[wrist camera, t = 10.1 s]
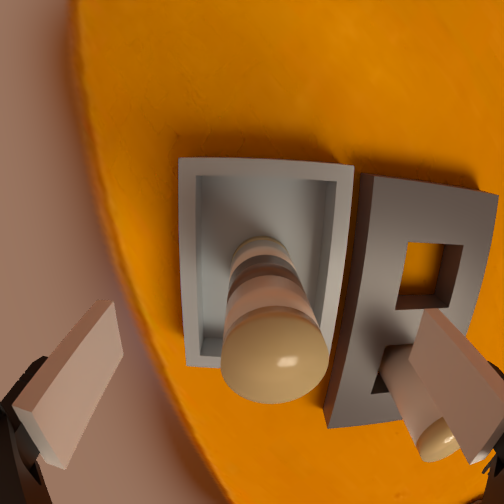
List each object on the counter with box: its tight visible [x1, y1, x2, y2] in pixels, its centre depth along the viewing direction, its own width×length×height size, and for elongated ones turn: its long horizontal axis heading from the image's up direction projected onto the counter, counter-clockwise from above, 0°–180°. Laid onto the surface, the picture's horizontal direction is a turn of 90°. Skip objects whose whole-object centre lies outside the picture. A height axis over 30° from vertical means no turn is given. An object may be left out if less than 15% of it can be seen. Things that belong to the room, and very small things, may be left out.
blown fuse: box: [220, 236, 329, 404], centre depth 17 cm, size 4×4×11 cm
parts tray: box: [178, 157, 354, 368], centre depth 21 cm, size 14×10×3 cm
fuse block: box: [323, 173, 499, 429], centre depth 23 cm, size 21×11×2 cm, turn 178°
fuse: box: [378, 343, 460, 462], centre depth 20 cm, size 4×4×11 cm
